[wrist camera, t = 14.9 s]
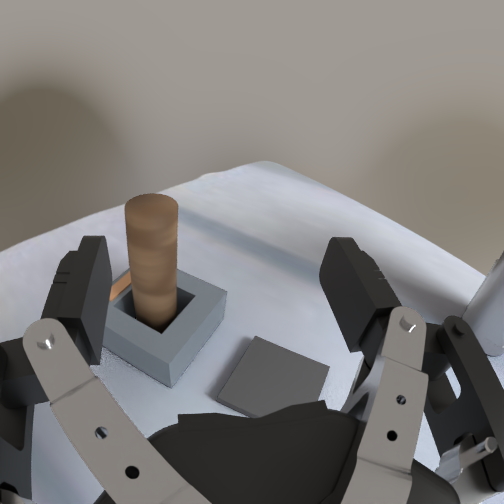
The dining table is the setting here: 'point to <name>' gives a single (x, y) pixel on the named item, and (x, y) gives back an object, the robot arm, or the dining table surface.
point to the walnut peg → (153, 258)
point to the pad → (272, 380)
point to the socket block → (174, 337)
